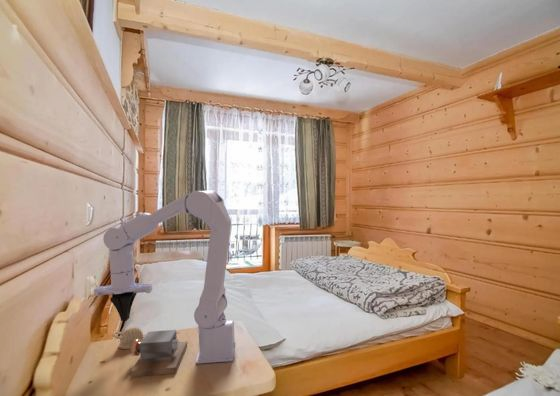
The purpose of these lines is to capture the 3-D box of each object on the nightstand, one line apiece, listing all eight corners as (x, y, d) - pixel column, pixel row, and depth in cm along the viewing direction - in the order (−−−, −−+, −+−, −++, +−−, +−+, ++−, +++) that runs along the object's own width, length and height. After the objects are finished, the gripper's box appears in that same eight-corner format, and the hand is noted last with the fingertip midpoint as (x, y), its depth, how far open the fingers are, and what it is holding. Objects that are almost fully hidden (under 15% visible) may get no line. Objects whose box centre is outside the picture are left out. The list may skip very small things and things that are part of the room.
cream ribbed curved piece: (146, 344, 87) (145, 326, 87) (114, 354, 82) (113, 335, 82) (143, 338, 90) (142, 321, 90) (112, 348, 85) (111, 329, 85)
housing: (187, 346, 85) (186, 324, 84) (176, 373, 73) (174, 347, 72) (149, 349, 84) (147, 326, 84) (131, 376, 72) (129, 350, 72)
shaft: (179, 347, 81) (179, 333, 80) (175, 356, 77) (175, 340, 76) (137, 350, 80) (136, 336, 79) (131, 359, 76) (130, 344, 75)
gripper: (86, 276, 77) (89, 328, 77) (144, 273, 78) (147, 324, 79) (100, 268, 84) (103, 316, 84) (153, 265, 85) (156, 312, 86)
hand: (125, 319), depth 82 cm, fingers closed
